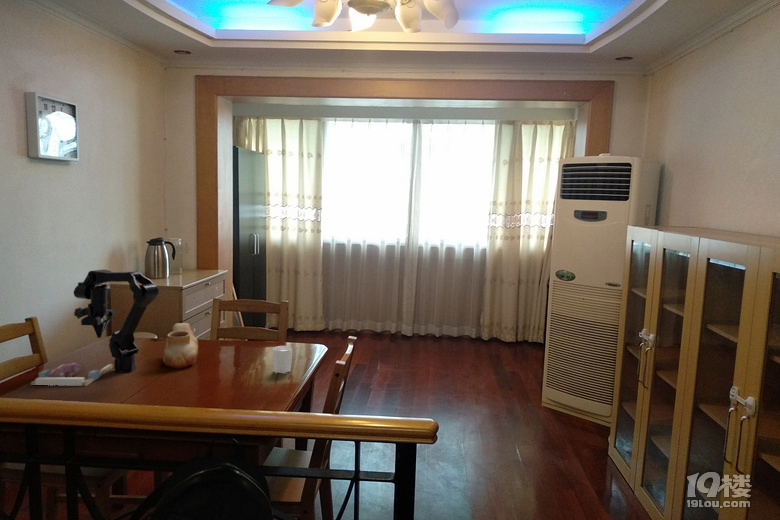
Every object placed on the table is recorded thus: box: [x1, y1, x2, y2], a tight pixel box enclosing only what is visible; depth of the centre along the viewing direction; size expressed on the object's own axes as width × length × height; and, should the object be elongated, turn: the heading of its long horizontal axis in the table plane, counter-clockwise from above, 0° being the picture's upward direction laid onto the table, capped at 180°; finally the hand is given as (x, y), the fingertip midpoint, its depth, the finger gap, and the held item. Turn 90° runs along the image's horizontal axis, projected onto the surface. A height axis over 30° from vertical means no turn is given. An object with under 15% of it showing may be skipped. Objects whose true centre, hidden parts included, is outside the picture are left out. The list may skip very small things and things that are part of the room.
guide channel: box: [30, 363, 114, 387], centre depth 197 cm, size 20×22×3 cm
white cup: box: [272, 345, 293, 373], centre depth 211 cm, size 8×8×10 cm
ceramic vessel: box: [162, 322, 199, 369], centre depth 221 cm, size 14×26×15 cm, turn 19°
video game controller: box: [49, 362, 81, 377], centre depth 194 cm, size 10×5×7 cm, turn 157°
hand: (99, 337), depth 209 cm, fingers closed
